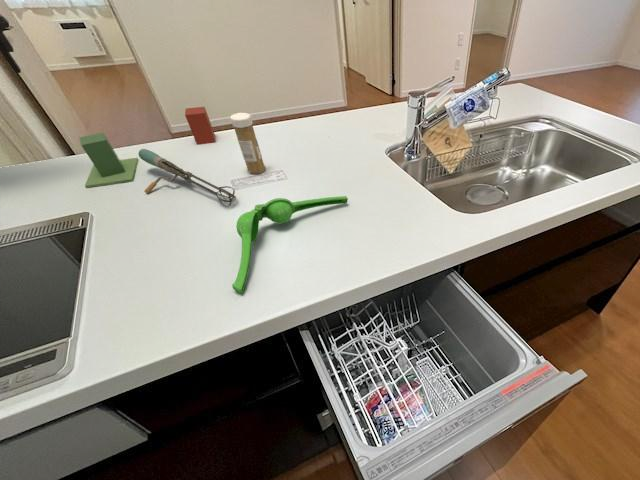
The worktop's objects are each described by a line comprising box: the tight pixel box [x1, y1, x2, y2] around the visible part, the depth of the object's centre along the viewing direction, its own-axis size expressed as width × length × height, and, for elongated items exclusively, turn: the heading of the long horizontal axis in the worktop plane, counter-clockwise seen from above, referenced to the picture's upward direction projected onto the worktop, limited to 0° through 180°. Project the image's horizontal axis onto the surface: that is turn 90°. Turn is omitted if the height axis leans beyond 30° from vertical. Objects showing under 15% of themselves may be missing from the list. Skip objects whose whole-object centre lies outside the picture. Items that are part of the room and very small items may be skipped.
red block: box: [184, 106, 216, 145], centre depth 99 cm, size 5×5×8 cm
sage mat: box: [84, 157, 139, 189], centre depth 87 cm, size 12×10×1 cm
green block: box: [78, 132, 125, 177], centre depth 84 cm, size 5×5×8 cm
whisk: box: [138, 148, 237, 208], centre depth 81 cm, size 11×32×7 cm, turn 58°
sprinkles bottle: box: [230, 112, 266, 175], centre depth 85 cm, size 5×5×13 cm
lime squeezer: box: [232, 195, 349, 295], centre depth 70 cm, size 34×12×6 cm, turn 151°
